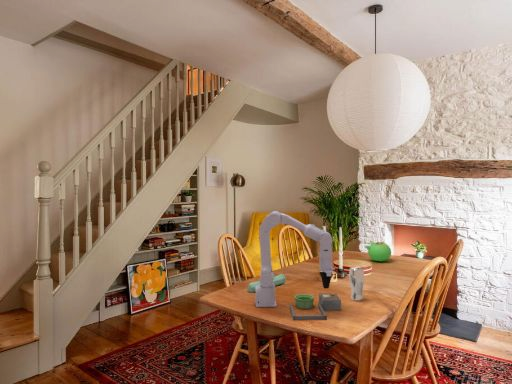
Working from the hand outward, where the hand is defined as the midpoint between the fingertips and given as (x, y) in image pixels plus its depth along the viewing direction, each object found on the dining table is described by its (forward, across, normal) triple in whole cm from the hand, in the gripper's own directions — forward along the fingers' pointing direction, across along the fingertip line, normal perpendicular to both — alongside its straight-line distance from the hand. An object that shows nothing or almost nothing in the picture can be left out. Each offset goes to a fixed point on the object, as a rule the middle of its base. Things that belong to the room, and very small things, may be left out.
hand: (326, 288), depth 156 cm
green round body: (+8, +94, -58) cm, 111 cm away
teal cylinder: (+9, +31, +27) cm, 42 cm away
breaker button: (+6, 0, 0) cm, 6 cm away
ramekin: (+9, +1, +10) cm, 13 cm away
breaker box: (+8, 0, -2) cm, 9 cm away
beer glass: (+9, +10, -17) cm, 22 cm away
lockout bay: (+8, -8, +10) cm, 16 cm away
